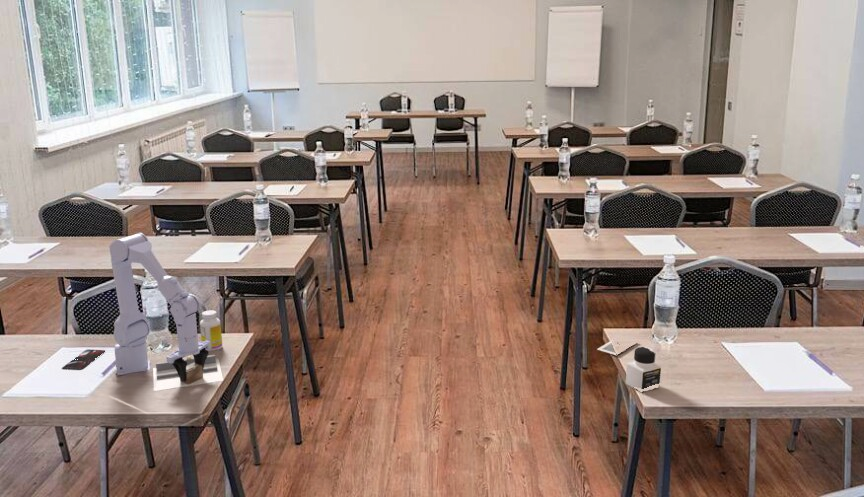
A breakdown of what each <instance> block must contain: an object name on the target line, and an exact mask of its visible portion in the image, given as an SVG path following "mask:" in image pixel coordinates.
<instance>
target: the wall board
mask: <svg viewBox="0 0 864 497" xmlns="http://www.w3.org/2000/svg"><path fill="white" fill-rule="evenodd" d="M183 359H184V361H186V362H187V365H189V364H192V363H195V360H194V357H192V356H191V355H189V356H186V358H183ZM152 371H153V372H152V375H153V378H152V379H153V392H158V391H159V392H160V391H164V390H172V389H177V388H178V389H179V388H185V387H191V386H197V385H203V384H204V385H205V384H210V383H217V382H218V383H219V382H224V378H223V374H222V369H221V364H220V358H216V354H210V355H209V354H208V356H207V358H206V360H205V364H204V368H203V378H202V379H200V380H198V381H195V382H193V383H191V384H189V385H188V384H186V383H183V382H180V378H179V375H178V373H177V371H176V369H175V367H174V366H173V365H172V364H171V363H168V362H167V360H166V361H161V362H155V367H153V368H152Z"/></svg>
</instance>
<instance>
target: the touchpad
mask: <svg viewBox="0 0 864 497" xmlns="http://www.w3.org/2000/svg"><path fill="white" fill-rule="evenodd" d="M612 341H613V339H611V340H610V341H608V342H607V343H605V344H603V345H601V346H600V347H598V348H597V349H596V350H597V351H601V352H604V353H607V354H611V355H614V356H617V355H616V353H615V351H614V348H613V345H612ZM617 344H619V343H618V342H617ZM619 345H620V344H619Z"/></svg>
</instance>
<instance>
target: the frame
mask: <svg viewBox="0 0 864 497" xmlns="http://www.w3.org/2000/svg"><path fill="white" fill-rule="evenodd" d="M202 378H203V371H202V365H199V364H197V363H192V364H189V365H187V366H186V381H182V380H180V382H183V383H186V384H188V385H189V384H191V383H193V382H195V381H198V380H200V379H202Z"/></svg>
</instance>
